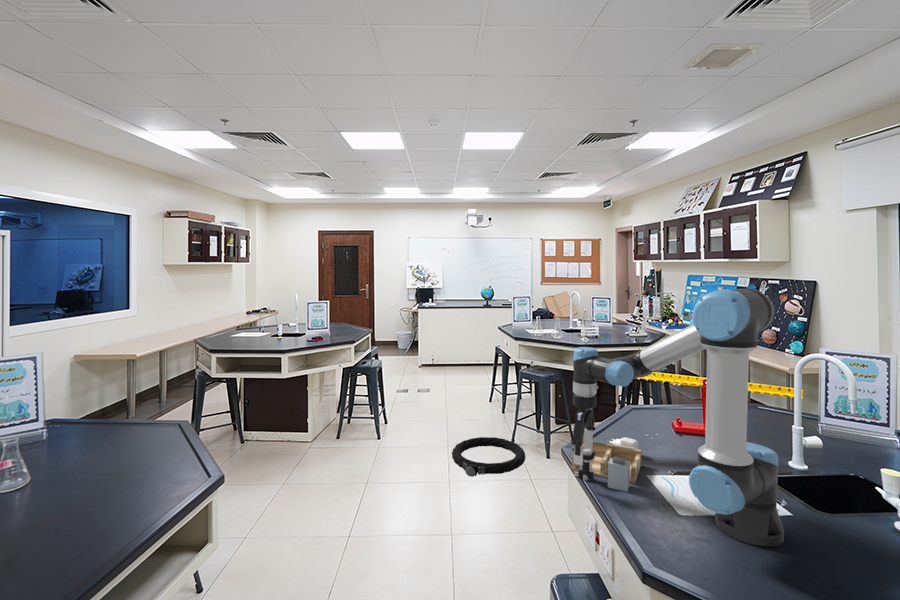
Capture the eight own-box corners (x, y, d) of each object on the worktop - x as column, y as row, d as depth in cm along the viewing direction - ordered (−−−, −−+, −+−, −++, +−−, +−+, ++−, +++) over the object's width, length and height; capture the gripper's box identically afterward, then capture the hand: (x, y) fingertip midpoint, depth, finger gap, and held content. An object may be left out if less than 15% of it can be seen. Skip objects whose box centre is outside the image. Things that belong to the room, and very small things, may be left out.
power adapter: (605, 450, 168) (605, 435, 167) (610, 446, 171) (611, 432, 170) (633, 458, 159) (634, 443, 159) (639, 454, 163) (639, 439, 162)
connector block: (627, 491, 136) (628, 463, 135) (607, 487, 139) (608, 459, 138) (629, 485, 140) (630, 458, 139) (610, 481, 143) (610, 454, 142)
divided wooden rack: (634, 484, 141) (634, 465, 140) (571, 470, 151) (571, 453, 151) (640, 465, 154) (641, 448, 154) (582, 453, 164) (583, 438, 164)
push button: (571, 479, 145) (572, 450, 144) (576, 472, 149) (576, 444, 148) (592, 484, 141) (592, 454, 140) (596, 477, 145) (596, 448, 145)
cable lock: (534, 442, 167) (508, 475, 141) (534, 452, 168) (508, 486, 141) (470, 431, 180) (434, 458, 154) (470, 440, 181) (434, 469, 154)
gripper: (587, 406, 131) (585, 474, 132) (604, 386, 152) (602, 444, 154) (562, 402, 134) (561, 468, 136) (582, 383, 156) (581, 440, 157)
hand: (583, 456), depth 145 cm, fingers open, 13 cm apart
